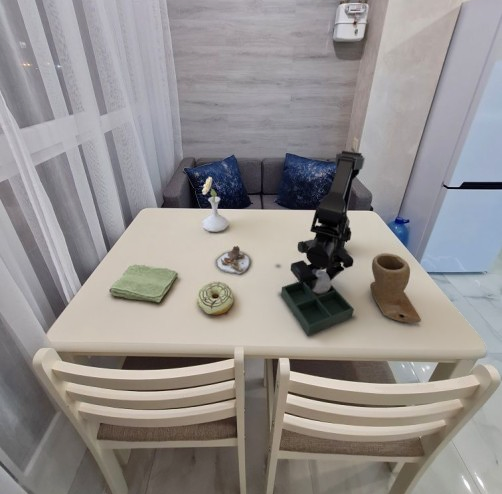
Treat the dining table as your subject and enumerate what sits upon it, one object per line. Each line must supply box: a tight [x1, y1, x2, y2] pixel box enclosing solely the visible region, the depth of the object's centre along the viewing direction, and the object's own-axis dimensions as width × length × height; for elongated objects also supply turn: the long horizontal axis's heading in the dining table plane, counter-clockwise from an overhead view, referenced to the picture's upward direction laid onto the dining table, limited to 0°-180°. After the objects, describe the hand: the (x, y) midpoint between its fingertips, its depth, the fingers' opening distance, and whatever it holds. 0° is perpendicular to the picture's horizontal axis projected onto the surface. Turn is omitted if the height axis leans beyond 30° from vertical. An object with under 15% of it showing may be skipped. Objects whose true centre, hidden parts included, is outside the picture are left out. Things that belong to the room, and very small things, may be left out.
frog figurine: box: [216, 245, 250, 275], centre depth 95 cm, size 12×12×4 cm
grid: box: [280, 281, 355, 337], centre depth 78 cm, size 15×15×3 cm
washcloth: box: [108, 264, 179, 303], centre depth 84 cm, size 13×18×3 cm
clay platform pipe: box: [370, 252, 422, 324], centre depth 76 cm, size 15×12×15 cm
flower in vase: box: [201, 176, 229, 233], centre depth 110 cm, size 13×11×25 cm
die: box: [311, 270, 332, 294], centre depth 81 cm, size 5×5×5 cm
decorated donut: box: [196, 281, 234, 315], centre depth 78 cm, size 10×11×4 cm
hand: (318, 285), depth 81 cm, fingers closed on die, 5 cm apart
